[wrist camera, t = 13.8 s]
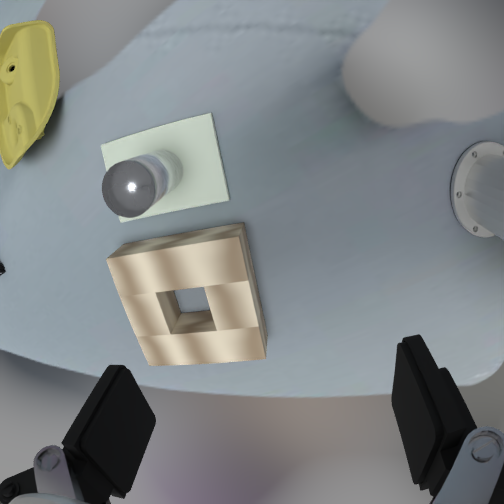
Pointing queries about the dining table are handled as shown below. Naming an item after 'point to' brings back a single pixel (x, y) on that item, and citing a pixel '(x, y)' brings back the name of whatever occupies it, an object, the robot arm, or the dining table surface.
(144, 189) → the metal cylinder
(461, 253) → the dining table surface
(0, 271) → the electric trimmer
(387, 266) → the dining table surface
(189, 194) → the mat
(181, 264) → the bore block
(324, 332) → the dining table surface
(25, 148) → the plastic component
